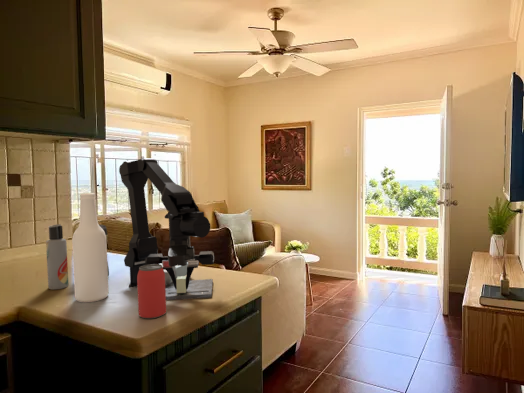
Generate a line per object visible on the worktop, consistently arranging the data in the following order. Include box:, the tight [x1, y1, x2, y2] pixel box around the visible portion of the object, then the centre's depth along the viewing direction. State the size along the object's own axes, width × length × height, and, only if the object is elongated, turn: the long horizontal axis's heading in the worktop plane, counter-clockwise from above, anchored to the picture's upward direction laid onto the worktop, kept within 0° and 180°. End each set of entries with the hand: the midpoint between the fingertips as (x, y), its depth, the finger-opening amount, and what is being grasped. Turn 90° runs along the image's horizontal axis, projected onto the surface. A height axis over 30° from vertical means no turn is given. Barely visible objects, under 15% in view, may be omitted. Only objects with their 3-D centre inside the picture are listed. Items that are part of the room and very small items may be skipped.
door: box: [164, 262, 188, 284], centre depth 122 cm, size 14×2×4 cm, turn 159°
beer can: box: [136, 264, 167, 320], centre depth 93 cm, size 7×7×12 cm
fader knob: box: [176, 275, 187, 293], centre depth 107 cm, size 2×3×4 cm
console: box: [165, 278, 214, 301], centre depth 112 cm, size 15×16×1 cm
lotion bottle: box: [45, 223, 69, 290], centre depth 120 cm, size 6×6×20 cm
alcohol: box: [71, 192, 109, 303], centre depth 107 cm, size 9×9×30 cm
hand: (181, 289), depth 107 cm, fingers closed on fader knob, 2 cm apart
